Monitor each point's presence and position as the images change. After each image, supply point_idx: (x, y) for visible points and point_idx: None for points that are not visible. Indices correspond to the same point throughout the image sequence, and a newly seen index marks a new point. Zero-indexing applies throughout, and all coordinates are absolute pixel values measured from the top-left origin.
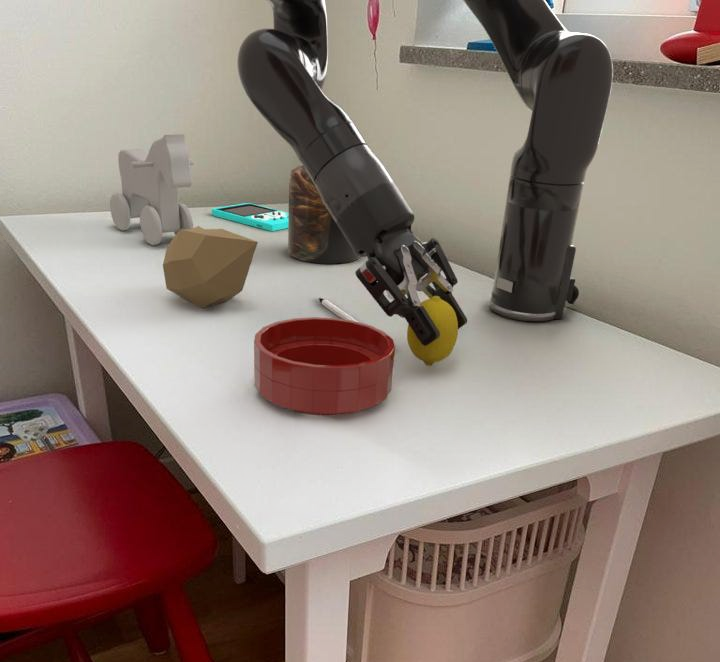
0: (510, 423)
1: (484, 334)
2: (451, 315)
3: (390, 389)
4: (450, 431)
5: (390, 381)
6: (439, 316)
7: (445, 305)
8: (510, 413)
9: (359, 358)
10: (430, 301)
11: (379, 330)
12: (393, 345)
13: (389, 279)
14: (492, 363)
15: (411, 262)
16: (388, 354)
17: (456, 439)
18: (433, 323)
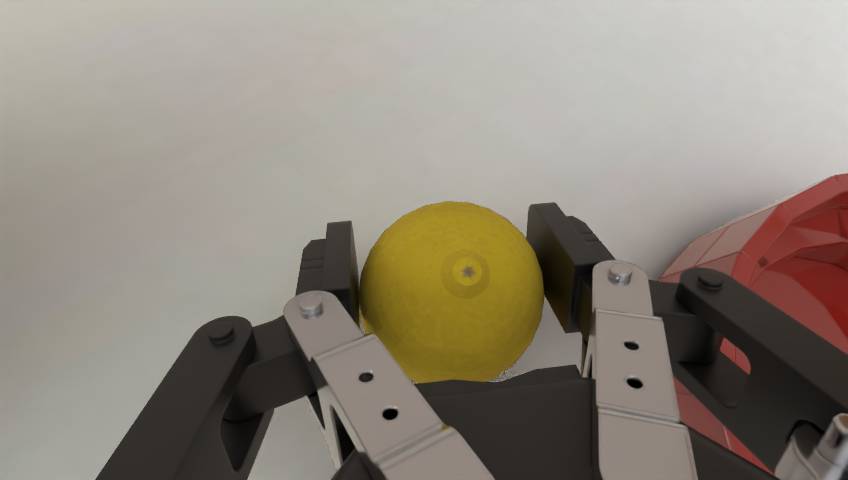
0: (554, 5)
1: (53, 355)
2: (454, 204)
3: (707, 233)
4: (685, 65)
5: (731, 222)
6: (508, 223)
7: (461, 226)
8: (513, 26)
9: None
10: (494, 283)
11: (723, 339)
12: (775, 215)
13: (804, 360)
14: (276, 200)
15: (532, 446)
16: (836, 180)
17: (700, 41)
18: (548, 222)
